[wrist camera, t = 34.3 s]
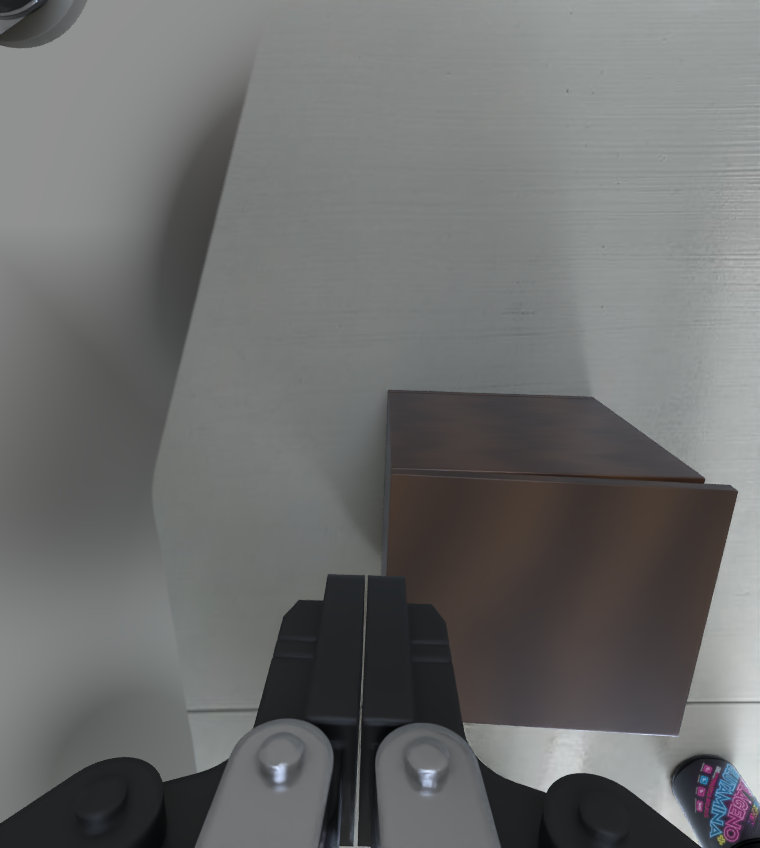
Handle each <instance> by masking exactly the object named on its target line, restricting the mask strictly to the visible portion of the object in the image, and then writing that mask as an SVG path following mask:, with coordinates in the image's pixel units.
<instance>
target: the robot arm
mask: <svg viewBox="0 0 760 848" xmlns="http://www.w3.org/2000/svg"><path fill="white" fill-rule="evenodd" d="M47 1H48V0H0V20H14V19H19V18H22V17H25V16H28V15H30V14H32V13H33V12H35V11H37V10H38V9H39V8H41V7H42V6H43V5H44V4H45V3H46V2H47ZM364 592H365V575H338V574H328V576H327V582H326V588H325V594H324V600H323V601H317V600H298V601H297V603H296V604H295V605H294V606H293V607H292V608H291V609H290V610H289V611H288V612H287V613H286V614H285V615H284V617H283V620H282V624H281V627H280V631H279V635H278V641H277V642H276V646H275V650H274V653H273V658H272V661H271V664H270V668H269V672H268V676H267V679H266V683H265V687H264V691H263V694H262V698H261V702H260V705H259V709H258V713H257V717H256V720H255V724H254V727H253V729H252V730H251V731H249V732H248V733H247V734H245V735H244V736H243V737H242V738H241V739H240V740H239V742H238V743H237V744H236V746H235V747H234V749H233V751H232V753H231V755H230V758H229V759H227V760H226V761H224V762H222V763H221V764H219V765H217V766H215V767H213V768H211V769H209V770H206V771H203V772H200V773H196V774H193V775H189V776H185V777H181V778H178V779H174V780H170V781H166V782H162V779H161V777H160V774H159V773H158V771H157V770H156V769H155V768H154V767H153V766H152V765H151V764H149V763H147V762H145V761H143V760H141V759H137V758H130V757H121V758H112V759H107V760H104V761H100V762H97V763H95V764H92V765H90V766H88V767H86V768H84V769H83V770H81V771H79V772H77V773H76V774H74V775H73V776H71V777H70V778H68V779H67V780H65V781H64V782H62V783H61V784H59V785H58V786H56V787H55V788H53V789H51V790H50V791H49V792H47V793H45V794H44V795H42V796H41V797H40V798H38V799H37V800H35V801H33V802H32V803H30V804H29V805H28V806H26V807H24V808H23V809H21V810H20V811H18V812H17V813H15V814H14V815H13V816H11V817H9V818H8V819H6V820H5V821H3V822H2V823H0V848H339V846H353V841H354V821H355V801H356V781H357V761H358V740H359V720H360V700H361V680H362V657H363V626H364ZM358 846H368V847H371V848H702V847H700V846H699V845H698V844H697V843H695V842H694V841H693V840H692V839H690V838H689V837H688V836H687V835H685V834H684V833H683V832H681V831H680V830H679V829H678V828H676V827H675V826H674V825H673V824H671V823H670V822H669V821H667V820H666V819H665V818H664V817H662V816H661V815H660V814H659V813H657V812H656V811H655V810H654V809H652V808H651V807H650V806H648V805H647V804H646V803H645V802H643V801H642V800H641V799H640V798H638V797H637V796H636V795H635V794H633V793H632V792H630V791H629V790H628V789H626V788H625V787H623V786H622V785H620V784H618V783H616V782H614V781H612V780H610V779H607V778H605V777H601V776H598V775H594V774H587V773H576V774H570V775H566V776H564V777H561V778H560V779H558V780H557V781H555V782H554V783H553V784H552V785H551V786H550V787H549V789H548V791H547V793H545V792H542V791H539V790H536V789H533V788H530V787H527V786H524V785H521V784H518V783H515V782H513V781H510V780H508V779H505V778H503V777H502V776H500V775H498V774H496V773H495V772H493V771H492V770H490V769H489V768H488V767H487V766H485V765H484V764H483V763H482V762H481V761H480V760H479V759H478V758H477V756H476V755H475V754H474V752H473V750H472V748H471V747H470V746H469V744H468V742H467V740H466V737H465V733H464V728H463V722H462V716H461V710H460V704H459V698H458V692H457V686H456V680H455V674H454V668H453V664H452V656H451V650H450V646H449V638H448V632H447V626H446V621H445V620H444V619H443V618H442V616H441V615H440V614H439V612H438V611H437V610H436V609H435V607H434V606H433V605H432V604H414V603H407V598H406V583H405V577H404V576H373V575H368V590H367V612H366V634H365V657H364V679H363V701H362V724H361V757H360V790H359V823H358Z"/></svg>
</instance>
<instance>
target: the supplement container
mask: <svg viewBox="0 0 760 848" xmlns="http://www.w3.org/2000/svg"><path fill="white" fill-rule="evenodd" d="M672 791H673V794H674V796H675V798H676V800H677V801H678V803H679V805H680V807H681V809H682V811H683V813H684V815H685V817H686V818H687V820H688V822H689V824H690V826H691V828H692V830H693V832H694V834H695V835H696V837H697V839H698V841H699V843H700V845H701V847H702V848H760V804H759V802H758V801H757V799H756V798H755V796H754V795H753V793H752V792H751V790H750V789H749V787H748V786H747V784H746V783H745V781H744V780H743V778H742V777H741V775H740V774H739V772H738V771H737V770H736V768H735V767H734V766H733V765H732V764H731V763H730V762H728V761H727V760H725V759H723V758H721V757H718V756H714V755H699V756H695V757H692V758H690V759H688V760H686V761H684V762H683V763H682V764H681V765H679V767H678V768H677V769H676V770H675V772H674V775H673V777H672Z"/></svg>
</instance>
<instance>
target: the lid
mask: <svg viewBox="0 0 760 848" xmlns="http://www.w3.org/2000/svg"><path fill="white" fill-rule="evenodd" d="M737 494H738V491H737V490H736V489H735V488H733V487H732V486H731V485H720V484H700V483H680V482H660V481H639V480H619V479H599V478H579V477H558V476H538V475H518V474H497V473H477V472H457V471H437V470H416V469H396V468H391V478H390V501H389V525H388V548H387V572H386V576H404V577H405V583H406V598H407V603H414V604H432V605H433V606H434V607H435V609H436V610H437V611H438V612H439V614H440V615H441V616H442V618H443V619H444V620H445V621H446V626H447V632H448V638H449V646H450V650H451V656H452V664H453V668H454V674H455V680H456V686H457V692H458V698H459V704H460V710H461V716H462V722H463V723H478V724H494V725H509V726H525V727H540V728H556V729H571V730H587V731H602V732H617V733H633V734H648V735H664V736H679V731H680V727H681V723H682V719H683V715H684V711H685V707H686V703H687V699H688V695H689V691H690V686H691V682H692V678H693V674H694V670H695V666H696V662H697V658H698V654H699V650H700V646H701V641H702V637H703V633H704V629H705V625H706V621H707V617H708V613H709V609H710V605H711V601H712V596H713V592H714V588H715V584H716V580H717V576H718V572H719V568H720V564H721V560H722V556H723V551H724V547H725V543H726V539H727V535H728V531H729V527H730V523H731V519H732V515H733V511H734V506H735V502H736V498H737Z"/></svg>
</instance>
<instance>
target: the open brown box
mask: <svg viewBox="0 0 760 848" xmlns="http://www.w3.org/2000/svg"><path fill="white" fill-rule="evenodd" d="M391 468H396V469H416V470H437V471H457V472H477V473H497V474H518V475H538V476H558V477H579V478H599V479H619V480H639V481H660V482H680V483H700V484H704V482H705V478H704V477H703V476H701V475H700V474H699V473H697V472H696V471H695V470H693V469H692V468H690V467H689V466H688V465H686V464H685V463H683V462H682V461H681V460H679V459H678V458H677V457H675V456H674V455H672V454H671V453H670V452H668V451H667V450H665V449H664V448H663V447H661V446H660V445H659V444H657V443H656V442H654V441H653V440H652V439H650V438H649V437H647V436H646V435H645V434H643V433H642V432H641V431H639V430H638V429H636V428H635V427H634V426H632V425H631V424H629V423H628V422H627V421H625V420H624V419H623V418H621V417H620V416H618V415H617V414H616V413H614V412H613V411H611V410H610V409H609V408H607V407H606V406H605V405H603V404H602V403H600V402H599V401H598V400H596V399H595V398H593V397H579V396H550V395H521V394H492V393H462V392H433V391H404V390H388V405H387V431H386V456H385V481H384V507H383V532H382V558H381V576H386V572H387V548H388V525H389V501H390V478H391Z"/></svg>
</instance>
